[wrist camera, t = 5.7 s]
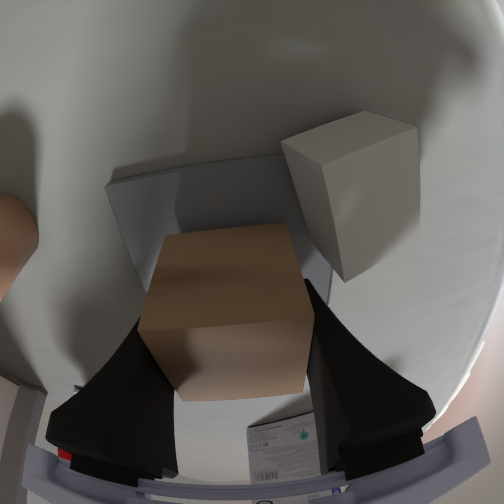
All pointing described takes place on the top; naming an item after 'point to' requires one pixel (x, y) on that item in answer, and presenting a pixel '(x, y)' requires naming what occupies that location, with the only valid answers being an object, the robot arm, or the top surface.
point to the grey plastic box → (357, 188)
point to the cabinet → (17, 433)
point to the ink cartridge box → (285, 456)
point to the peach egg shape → (15, 239)
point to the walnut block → (229, 314)
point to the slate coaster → (212, 209)
